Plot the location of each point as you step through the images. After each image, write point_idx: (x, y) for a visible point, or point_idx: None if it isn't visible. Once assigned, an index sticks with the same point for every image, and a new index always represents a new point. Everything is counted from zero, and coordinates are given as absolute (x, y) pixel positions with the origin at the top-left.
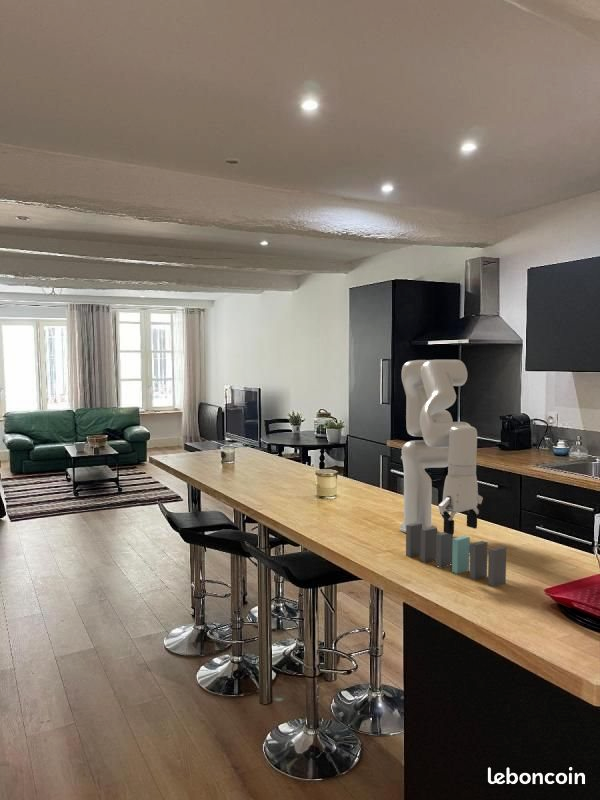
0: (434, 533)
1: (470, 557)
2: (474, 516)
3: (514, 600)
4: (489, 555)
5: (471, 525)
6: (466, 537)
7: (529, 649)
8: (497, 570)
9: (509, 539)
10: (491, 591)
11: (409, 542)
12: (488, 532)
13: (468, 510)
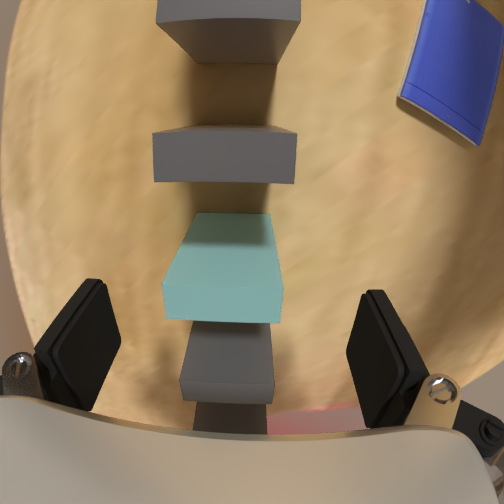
0: (265, 29)
1: (189, 338)
2: (368, 417)
3: (180, 409)
4: (194, 419)
5: (356, 338)
6: (259, 316)
7: None
8: None
9: None
10: (175, 369)
11: None
12: None
13: (413, 402)
